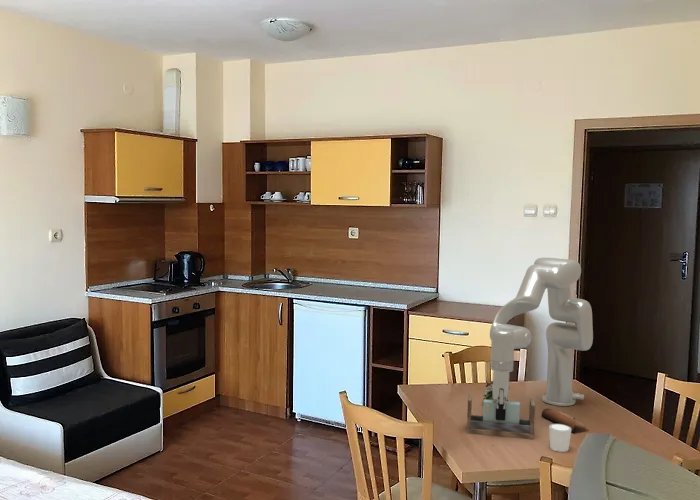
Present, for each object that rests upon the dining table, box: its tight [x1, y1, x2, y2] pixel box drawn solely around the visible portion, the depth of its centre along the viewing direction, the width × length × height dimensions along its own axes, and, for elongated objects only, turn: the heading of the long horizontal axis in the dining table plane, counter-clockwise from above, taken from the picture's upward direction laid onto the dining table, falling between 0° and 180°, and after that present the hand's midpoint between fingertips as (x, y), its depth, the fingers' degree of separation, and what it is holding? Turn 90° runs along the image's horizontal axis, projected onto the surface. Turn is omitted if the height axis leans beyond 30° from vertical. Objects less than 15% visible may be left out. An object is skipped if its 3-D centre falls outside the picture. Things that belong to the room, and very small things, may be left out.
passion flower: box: [482, 380, 509, 402], centre depth 244 cm, size 11×11×12 cm
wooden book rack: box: [466, 392, 536, 440], centre depth 216 cm, size 22×8×12 cm, turn 78°
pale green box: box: [482, 399, 521, 424], centre depth 215 cm, size 12×4×9 cm, turn 78°
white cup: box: [548, 423, 572, 453], centre depth 202 cm, size 7×7×7 cm
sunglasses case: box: [541, 407, 592, 434], centre depth 225 cm, size 18×7×7 cm
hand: (500, 416), depth 216 cm, fingers open, 4 cm apart
